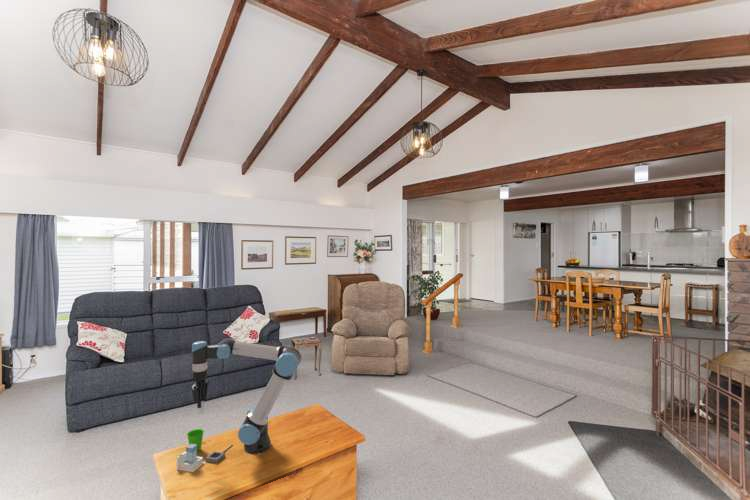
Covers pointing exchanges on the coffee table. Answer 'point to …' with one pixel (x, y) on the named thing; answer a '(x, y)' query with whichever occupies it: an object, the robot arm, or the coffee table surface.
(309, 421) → the coffee table surface
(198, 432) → the cup
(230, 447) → the cord
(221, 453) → the grey square socket
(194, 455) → the plug
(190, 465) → the tray
